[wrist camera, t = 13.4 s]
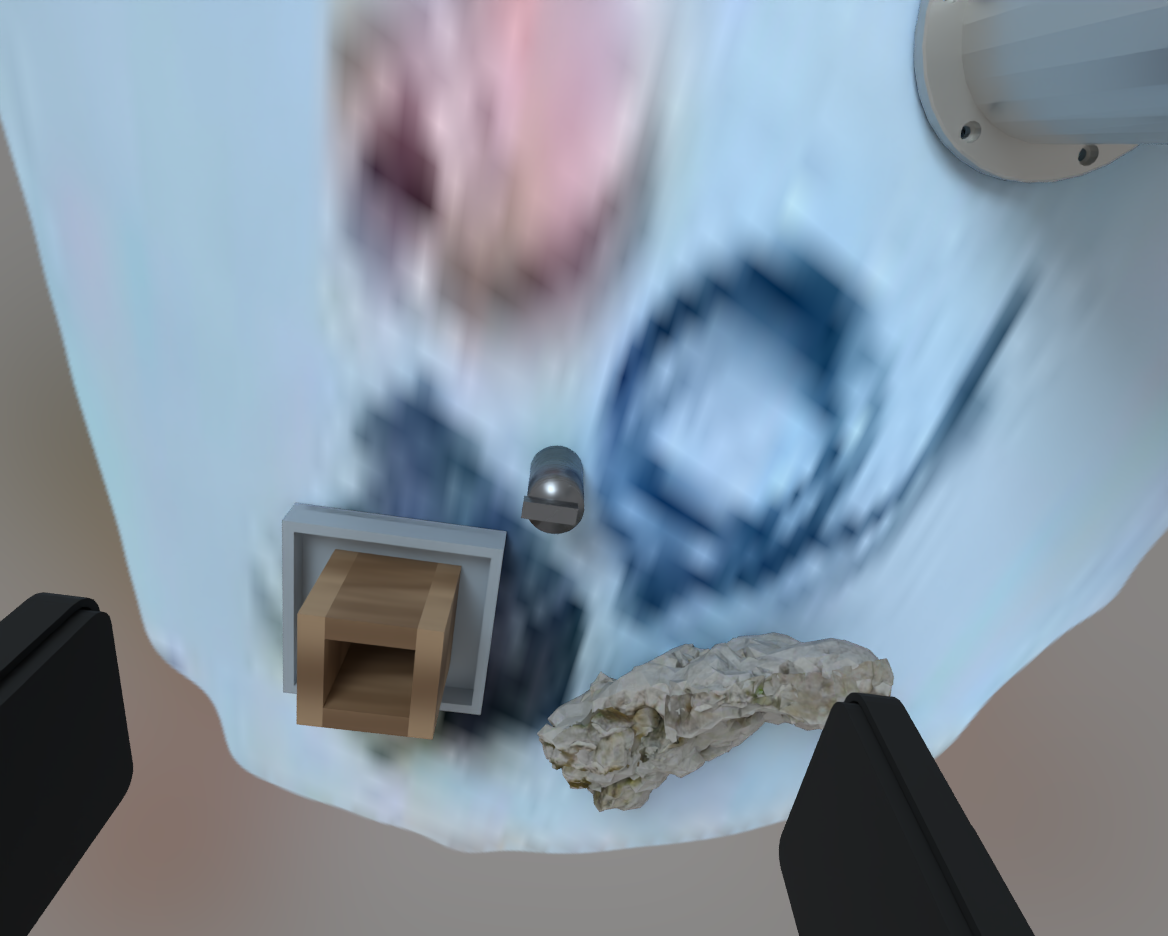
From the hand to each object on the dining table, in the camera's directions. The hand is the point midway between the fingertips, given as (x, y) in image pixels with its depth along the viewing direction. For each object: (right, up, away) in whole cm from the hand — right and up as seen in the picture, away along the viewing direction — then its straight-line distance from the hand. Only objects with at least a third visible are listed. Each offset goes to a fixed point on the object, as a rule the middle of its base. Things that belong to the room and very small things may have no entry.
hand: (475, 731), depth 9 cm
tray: (-10, -5, +32) cm, 34 cm away
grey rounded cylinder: (0, +3, +29) cm, 29 cm away
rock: (+9, -9, +35) cm, 37 cm away
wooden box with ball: (-9, -5, +32) cm, 33 cm away
